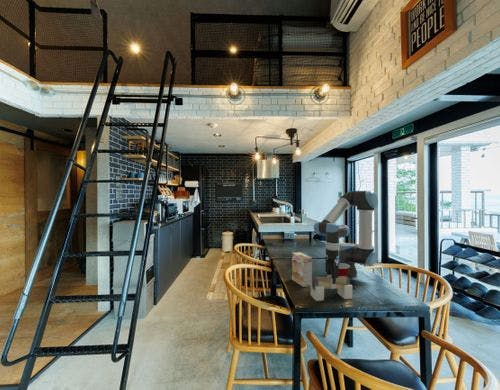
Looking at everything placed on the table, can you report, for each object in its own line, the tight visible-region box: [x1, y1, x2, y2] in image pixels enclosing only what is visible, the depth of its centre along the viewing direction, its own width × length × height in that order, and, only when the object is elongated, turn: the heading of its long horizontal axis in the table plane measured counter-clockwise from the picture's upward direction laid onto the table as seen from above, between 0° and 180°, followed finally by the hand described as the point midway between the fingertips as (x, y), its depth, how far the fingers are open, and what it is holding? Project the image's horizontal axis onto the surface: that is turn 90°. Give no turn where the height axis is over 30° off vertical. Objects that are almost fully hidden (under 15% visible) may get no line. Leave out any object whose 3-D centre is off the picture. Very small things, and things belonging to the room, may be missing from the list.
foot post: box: [337, 284, 353, 300], centre depth 151 cm, size 8×5×8 cm, turn 9°
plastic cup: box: [338, 263, 350, 276], centre depth 175 cm, size 11×11×12 cm
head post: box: [310, 282, 325, 302], centre depth 149 cm, size 8×5×8 cm, turn 9°
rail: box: [312, 276, 351, 290], centre depth 150 cm, size 4×22×6 cm, turn 98°
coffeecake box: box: [291, 251, 313, 288], centre depth 172 cm, size 15×7×20 cm, turn 21°
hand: (331, 286), depth 150 cm, fingers closed on rail, 4 cm apart
